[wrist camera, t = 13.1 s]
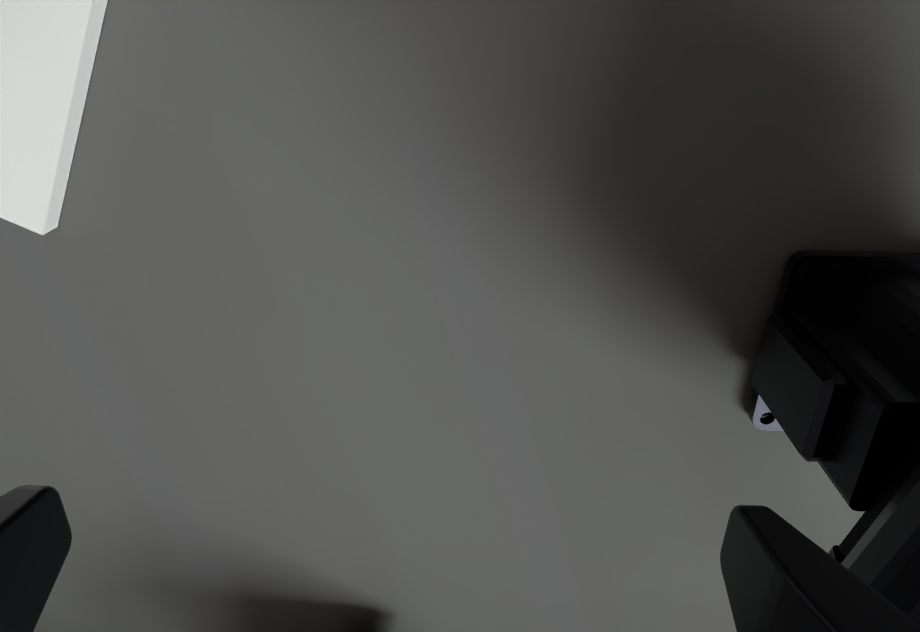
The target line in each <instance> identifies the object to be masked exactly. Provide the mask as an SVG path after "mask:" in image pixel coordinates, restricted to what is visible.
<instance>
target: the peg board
mask: <svg viewBox="0 0 920 632" xmlns="http://www.w3.org/2000/svg"><path fill="white" fill-rule="evenodd" d="M106 5H107V0H0V218H3V219H5V220H7V221H10V222H12V223H15V224H17V225H19V226H22V227H24V228H26V229H29V230H31V231H34V232H36V233H38V234H41V235H44V234H46V233H47V232H49V231H51V230H53V229H54V228H56V227H58V222H59V218H60V213H61V209H62V204H63V199H64V195H65V190H66V186H67V181H68V177H69V172H70V168H71V163H72V159H73V154H74V150H75V145H76V141H77V136H78V132H79V127H80V123H81V118H82V114H83V109H84V104H85V100H86V95H87V91H88V86H89V82H90V77H91V73H92V68H93V64H94V59H95V55H96V50H97V46H98V41H99V37H100V32H101V28H102V23H103V18H104V14H105V9H106Z"/></svg>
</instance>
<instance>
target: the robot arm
mask: <svg viewBox="0 0 920 632" xmlns="http://www.w3.org/2000/svg"><path fill="white" fill-rule="evenodd" d="M809 262H810V267H809V269H808V270H807V271H805V272H803V273H799V269H800V267H801V266H802V265H804V264H805V263H809ZM751 383H752V385H753V387H754V392H753V396H752V400H751V404H750V408H749V418H750V420H751V421H752V423H753V424H754V426H755V427H756V428H758V429H760V430H767V431H784V432H785V433H786V435H787V436H788V438H789V439H790V440H791V442H792V443H793V445H794V446H795V448H796V449H797V451H798V452H799V454H800V455H801V456H802V457H803V458H804V459H805V460H806V461H807V462H818V463H819V464H820V466H821V467H822V469H823V470H824V472H825V473H826V474H827V476H828V477H829V479H830V480H831V481H832V483H833V484H834V486H835V487H836V488H837V490H838V491H839V493H840V494H841V495H842V497H843V498H844V500H845V501H846V502H847V504H848V505H849V507H850V508H851V509H852V510H855V511H865V513H864V514H863V515H862V517H861V518H860V519H859V521H858V522H857V523H856V525H855V526H854V527H853V528H852V530H851V531H850V532H849V534H848V535H847V536H846V538H845V539H844V540H843V542H842V543H841V544H840V545H839V546H837V545H835V546H833V547H832V549H831V550H830V551H829V553H827V552H825V551H824V550H823V549H821V548H820V547H819V546H818V545H816V544H815V543H814V542H812V541H811V540H810V539H809V538H807V537H806V536H805V535H803V534H802V533H801V532H800V531H798V530H797V529H796V528H794V527H793V526H792V525H791V524H789V523H788V522H787V521H785V520H784V519H783V518H782V517H780V516H779V515H778V514H776V513H775V512H774V511H773V510H771V509H769V508H768V507H765V506H752V505H738V506H736V507H734V508H733V509H732V511H731V513H730V517H729V521H728V524H727V528H726V532H725V536H724V540H723V544H722V548H721V554H720V563H721V569H722V574H723V578H724V582H725V586H726V590H727V594H728V598H729V602H730V606H731V610H732V614H733V618H734V622H735V626H736V630H737V632H920V253H896V252H854V251H812V250H805V251H799V252H797V253H795V254H793V255H792V256H791V257H790V258H789V259H788V261H787V263H786V266H785V270H784V274H783V278H782V282H781V286H780V289H779V293H778V297H777V301H776V305H775V309H774V313H772V314H771V315H770V316H769V317H768V318H767V320H766V323H765V327H764V331H763V335H762V339H761V343H760V347H759V351H758V355H757V359H756V363H755V367H754V371H753V375H752V380H751ZM768 412H770V414H769V415H768V416H767V417H764V418H760V417H761V416H762V415H763V414H764V413H768ZM71 539H72V535H71V529H70V526H69V523H68V519H67V516H66V513H65V510H64V507H63V504H62V501H61V498H60V495H59V493H58V491H57V490H56V489H55V488H54V487H50V486H33V485H26V486H20V487H17V488H15V489H13V490H12V491H10V492H8V493H6V494H4V495H2V496H0V632H33V630H34V628H35V626H36V624H37V622H38V619H39V617H40V615H41V613H42V610H43V608H44V606H45V604H46V601H47V599H48V597H49V595H50V592H51V590H52V588H53V586H54V583H55V581H56V579H57V577H58V574H59V572H60V570H61V568H62V566H63V563H64V561H65V559H66V557H67V554H68V552H69V549H70V546H71Z"/></svg>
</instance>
